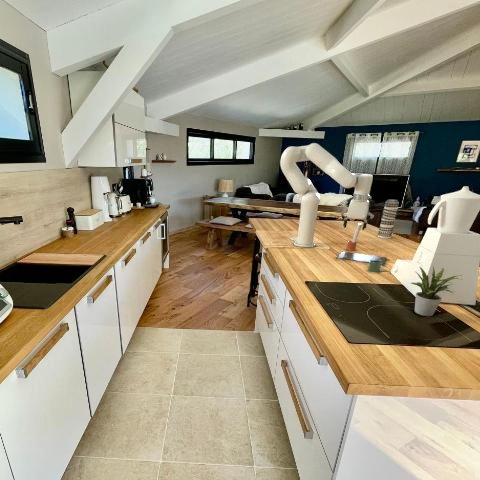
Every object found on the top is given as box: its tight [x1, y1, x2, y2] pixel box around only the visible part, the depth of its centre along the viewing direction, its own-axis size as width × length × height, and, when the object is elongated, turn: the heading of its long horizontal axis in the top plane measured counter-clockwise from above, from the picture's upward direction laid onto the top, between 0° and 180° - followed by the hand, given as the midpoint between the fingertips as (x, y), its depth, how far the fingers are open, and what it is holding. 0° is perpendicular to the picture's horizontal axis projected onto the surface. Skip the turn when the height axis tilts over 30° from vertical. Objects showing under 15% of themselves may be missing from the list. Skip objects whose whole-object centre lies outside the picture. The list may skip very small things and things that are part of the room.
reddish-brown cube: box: [346, 240, 358, 252], centre depth 184 cm, size 5×5×5 cm
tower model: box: [377, 199, 400, 239], centre depth 213 cm, size 9×9×25 cm
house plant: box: [410, 267, 463, 317], centre depth 102 cm, size 14×14×16 cm
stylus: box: [351, 223, 363, 242], centre depth 182 cm, size 2×2×15 cm
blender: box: [389, 185, 480, 306], centre depth 121 cm, size 33×18×40 cm, turn 166°
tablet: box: [336, 251, 387, 266], centre depth 166 cm, size 22×16×1 cm
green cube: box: [367, 260, 382, 273], centre depth 146 cm, size 5×5×5 cm
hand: (353, 228), depth 180 cm, fingers open, 9 cm apart
